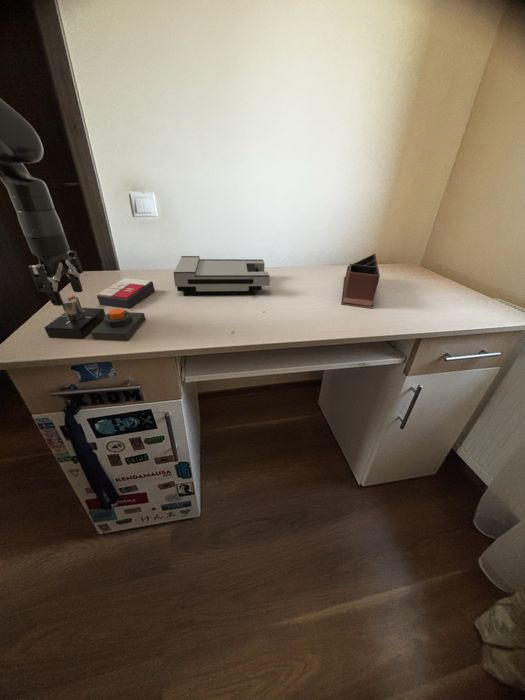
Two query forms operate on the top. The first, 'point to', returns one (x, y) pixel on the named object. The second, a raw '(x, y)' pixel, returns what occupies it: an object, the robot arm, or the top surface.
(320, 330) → the top surface
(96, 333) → the button block
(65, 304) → the dial
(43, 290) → the robot arm
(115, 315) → the button
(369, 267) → the desk organizer
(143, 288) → the calculator
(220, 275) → the game console
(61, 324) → the dial panel
